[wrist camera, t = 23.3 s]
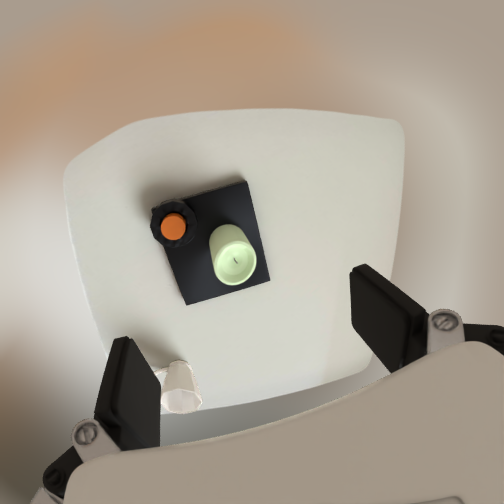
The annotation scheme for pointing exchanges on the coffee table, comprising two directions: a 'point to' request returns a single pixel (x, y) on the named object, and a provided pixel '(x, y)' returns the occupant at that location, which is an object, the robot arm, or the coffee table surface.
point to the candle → (231, 254)
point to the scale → (198, 235)
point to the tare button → (173, 226)
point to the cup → (180, 388)
